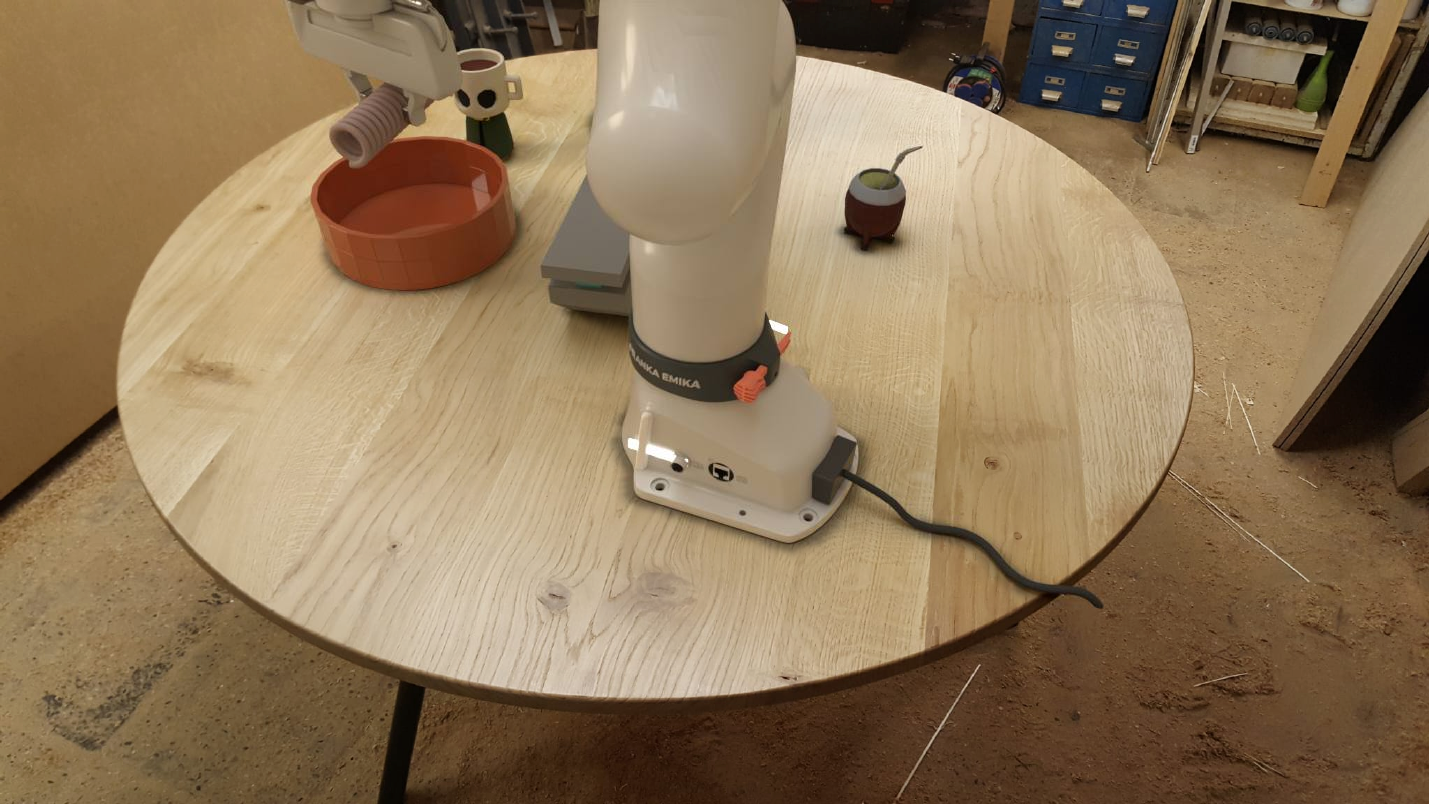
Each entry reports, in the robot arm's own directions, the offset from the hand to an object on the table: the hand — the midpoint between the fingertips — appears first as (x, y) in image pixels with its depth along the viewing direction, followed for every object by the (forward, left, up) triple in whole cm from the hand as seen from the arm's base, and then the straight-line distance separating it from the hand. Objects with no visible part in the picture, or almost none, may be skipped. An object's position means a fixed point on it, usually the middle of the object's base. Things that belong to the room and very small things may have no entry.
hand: (392, 114), depth 94 cm
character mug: (+6, -19, -16) cm, 25 cm away
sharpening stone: (-25, -5, -16) cm, 30 cm away
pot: (0, 0, -16) cm, 16 cm away
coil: (0, 0, -2) cm, 2 cm away
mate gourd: (-46, -29, -16) cm, 57 cm away
